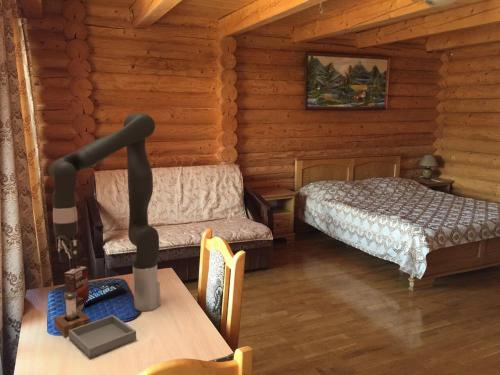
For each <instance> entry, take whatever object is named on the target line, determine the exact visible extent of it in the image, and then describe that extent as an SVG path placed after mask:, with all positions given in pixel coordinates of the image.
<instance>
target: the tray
mask: <svg viewBox="0 0 500 375" xmlns="http://www.w3.org/2000/svg"><path fill="white" fill-rule="evenodd" d="M68 340H69V342H70V343H72V344H73V345H74V346H75V347H76V348H77V349H78V350H79V351H80V352H81V353H82V354H84V355H85V356H86V357H87V358H88V360H92V359H95V358H97V357H100V356H102V355H104V354H106V353H107V354H108V353H111V352H112V351H115V350H117V349H119V348H122V347H124V346H126V345H129V344H131V343H134V342H136V341H137V331H136V330H135V329H134V328H132V327H131V326H129V324H127V323H125V322H124V321H123V320H121V319H119V318H118V317H117V316H116V315H114V314H111V315H108V316H106V317H103V318H99V319H97V320H95V321H94V320H93V321H90V323H88V324H85V325H82V326H80V327H77V328H74V329H71V330H69V336H68Z"/></svg>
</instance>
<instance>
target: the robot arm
mask: <svg viewBox="0 0 500 375" xmlns="http://www.w3.org/2000/svg"><path fill="white" fill-rule="evenodd" d="M155 129H156V123H155V120H154V119H153V117H152V116H150V115H149V114H147V113H139V112H136V113H135V112H133V113H130V114H128V115H127V116H126V117H125V118H124V121H123V127H122V128H120V129H119V130H117V131H114V132H112V133H110V134H108V135H105V136H103V137H100V138H98V139H95V140H93V141H92V142H89V143H87V144H86V145H84V146H82V147H81V148H79V149H77V150H76V151H74V152H72V153H69V154H67V155H65V156H62V157H59V158H58V159H56V160H54V161H53V162H52V163H51V164H50V165H49V167H48V175H49V176H50V178H51V179H52V180H53V181H54V182H53V183H54V184H53V185H54V190H53V192H52V197H51V199H52V221H53V222H52V224H53V225H52V226H53V232H54V233H53V234H54V237H55V249H56V250H57V251H58V254H59V262H60V263H61V264H63V263H64V264H65V263H67V262H68V261H69V269H70V270H71V269H75V268H77V266H78V261H77V258H80V257H81V256H80V245H79V244H80V243H79V239H75V238H74V237H75V236H74V235H75V234H77V233H78V232H79V225H78V211H77V207H76V206H77V205H76V203H77V202H76V193H75V192H76V186H77V173H78V172H79V171H82V170H87V169H89V168H92V167H94V166H95V165H96V164H98V163H100V162H101V161H103V160H104V159H106V158H108V157H110V156H111V155H114V154H115V153H116V152H118V151H120V150H122V149H125V147H126V165H127V166H126V168H127V192H128V206H129V207H128V209H129V215H128V216H129V218H128V231H127V232H128V233H127V235H128V240H129V242H130V244H132V245H133V246H135V247H136V253H135V254H136V255H135V257H133V259H132V281H133V305H134V307H135V308H136V309H137V310H136V309H135V308H134V309H135V310H136V311H138V310H139V312H151V311H153V310H154V311H155V309H157V308H158V307H159V306H161V283H160V281H159V280H158V279H159V278H158V259H159V255H160V236H159V235H160V234H159V233H158V231H157V229H156V228H154V227H153V226H151V225H150V224H149V219H148V211H149V210H148V209H149V204H150V202H151V199H152V197H153V191H154V178H153V177H154V176H153V169H152V167H151V164H150V160H149V159H148V155H147V149H146V139H147V138H150V137H151V136H152V135H153V133H154V132H155ZM67 256H68V258H69V259H68V258H67Z"/></svg>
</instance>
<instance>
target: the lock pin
mask: <svg viewBox="0 0 500 375" xmlns="http://www.w3.org/2000/svg"><path fill="white" fill-rule="evenodd" d="M75 297H77V292H76V291H68V292H64V293H63V298H64V299H65V308H66V309H65V310H66V314H67V322H70V321H73V320H76V319H77V313H76V298H75Z"/></svg>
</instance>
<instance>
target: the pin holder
mask: <svg viewBox="0 0 500 375" xmlns="http://www.w3.org/2000/svg"><path fill="white" fill-rule="evenodd" d="M76 313H77V319H76V320H73V321H70V322H67V313H65V314H64V313H63V314H61V315H58V316H55V317H53V325H54V326H53V327H54V329H55V328H56V329H57V330H58V331H59V332H60V333H61V334H62V335H63V338H69V330H71V329H74V328H77V327H80V326H82V325H85V324H88V323H91V318H90V317H89V316H88V315H87V314H85V313H84V312H83V311H82V310H76ZM56 329H55V330H56ZM57 330H56V331H57ZM58 331H57V332H58ZM59 332H58V333H59ZM60 333H59V334H60ZM61 334H60V335H61ZM62 335H61V336H62Z"/></svg>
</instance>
